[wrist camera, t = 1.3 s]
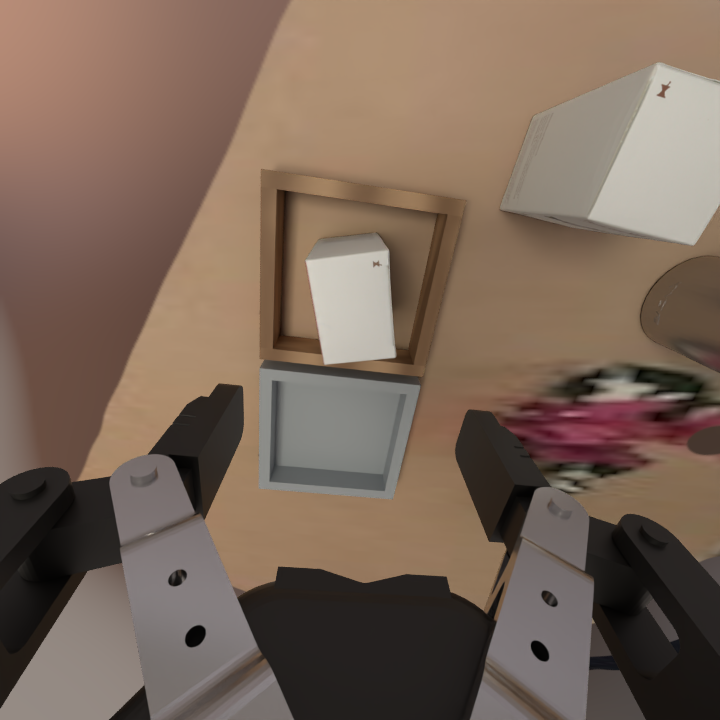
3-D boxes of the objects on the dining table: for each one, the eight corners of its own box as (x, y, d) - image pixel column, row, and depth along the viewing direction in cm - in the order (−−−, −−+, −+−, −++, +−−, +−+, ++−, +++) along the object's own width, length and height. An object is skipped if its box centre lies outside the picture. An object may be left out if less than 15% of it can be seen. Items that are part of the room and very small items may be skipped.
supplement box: (496, 210, 30) (582, 219, 19) (532, 112, 27) (662, 52, 16) (570, 230, 31) (695, 250, 20) (613, 137, 28) (792, 97, 17)
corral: (454, 199, 30) (466, 200, 27) (416, 361, 37) (422, 376, 34) (271, 171, 29) (260, 168, 25) (267, 344, 35) (259, 358, 32)
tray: (415, 369, 37) (420, 385, 34) (389, 477, 44) (392, 499, 41) (267, 353, 36) (259, 368, 33) (265, 466, 43) (258, 488, 40)
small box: (317, 238, 31) (302, 256, 22) (378, 231, 31) (390, 246, 21) (330, 320, 34) (321, 367, 25) (384, 314, 34) (397, 359, 25)
